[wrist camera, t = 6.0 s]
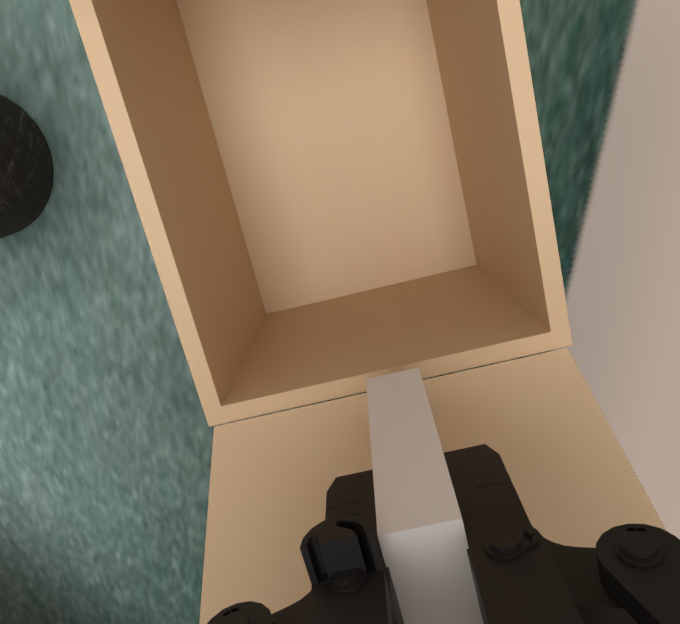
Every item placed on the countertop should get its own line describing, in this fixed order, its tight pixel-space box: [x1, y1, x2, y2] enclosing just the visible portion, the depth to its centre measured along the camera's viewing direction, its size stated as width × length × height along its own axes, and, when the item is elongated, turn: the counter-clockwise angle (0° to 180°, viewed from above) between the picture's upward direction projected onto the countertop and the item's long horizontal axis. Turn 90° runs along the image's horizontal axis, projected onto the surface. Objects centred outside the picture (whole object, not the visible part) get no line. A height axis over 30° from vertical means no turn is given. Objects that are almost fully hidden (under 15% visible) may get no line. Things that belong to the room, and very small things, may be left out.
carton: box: [69, 0, 573, 427], centre depth 23 cm, size 18×12×12 cm, turn 14°
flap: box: [199, 348, 666, 624], centre depth 16 cm, size 9×12×1 cm
